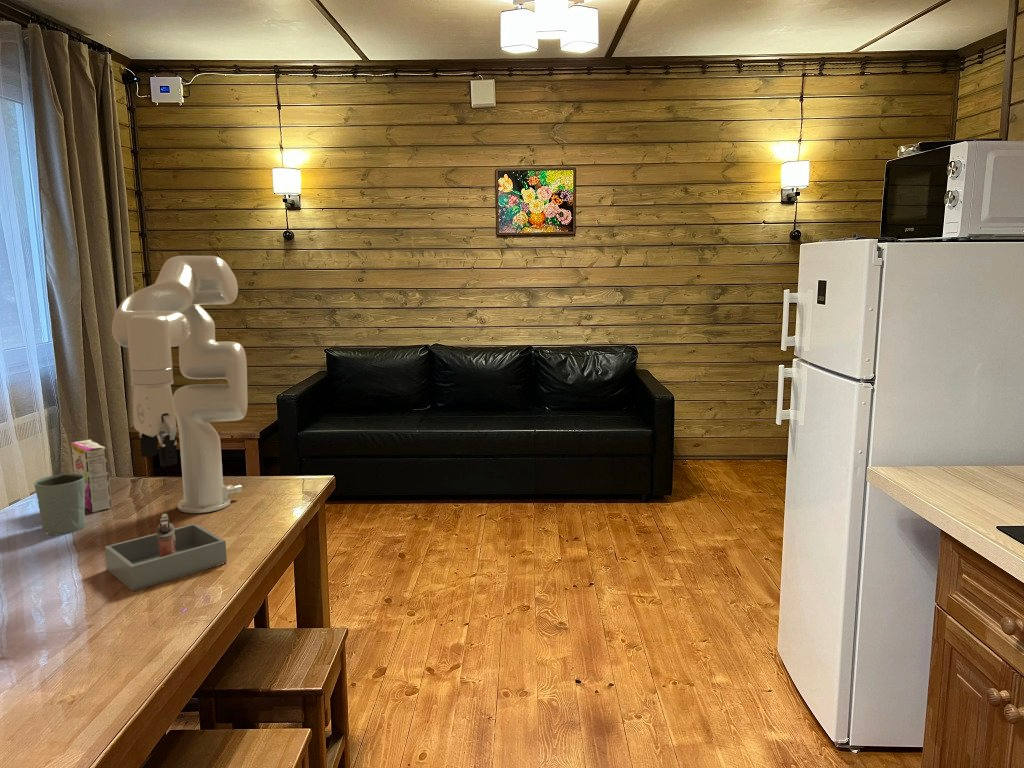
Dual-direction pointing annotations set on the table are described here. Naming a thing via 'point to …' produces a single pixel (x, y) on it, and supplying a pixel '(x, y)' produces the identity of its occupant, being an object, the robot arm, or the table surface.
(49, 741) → the table surface
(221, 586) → the table surface
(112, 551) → the bin
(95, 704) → the table surface
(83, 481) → the green plant pot
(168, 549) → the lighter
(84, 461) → the candy bar box
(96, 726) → the table surface
